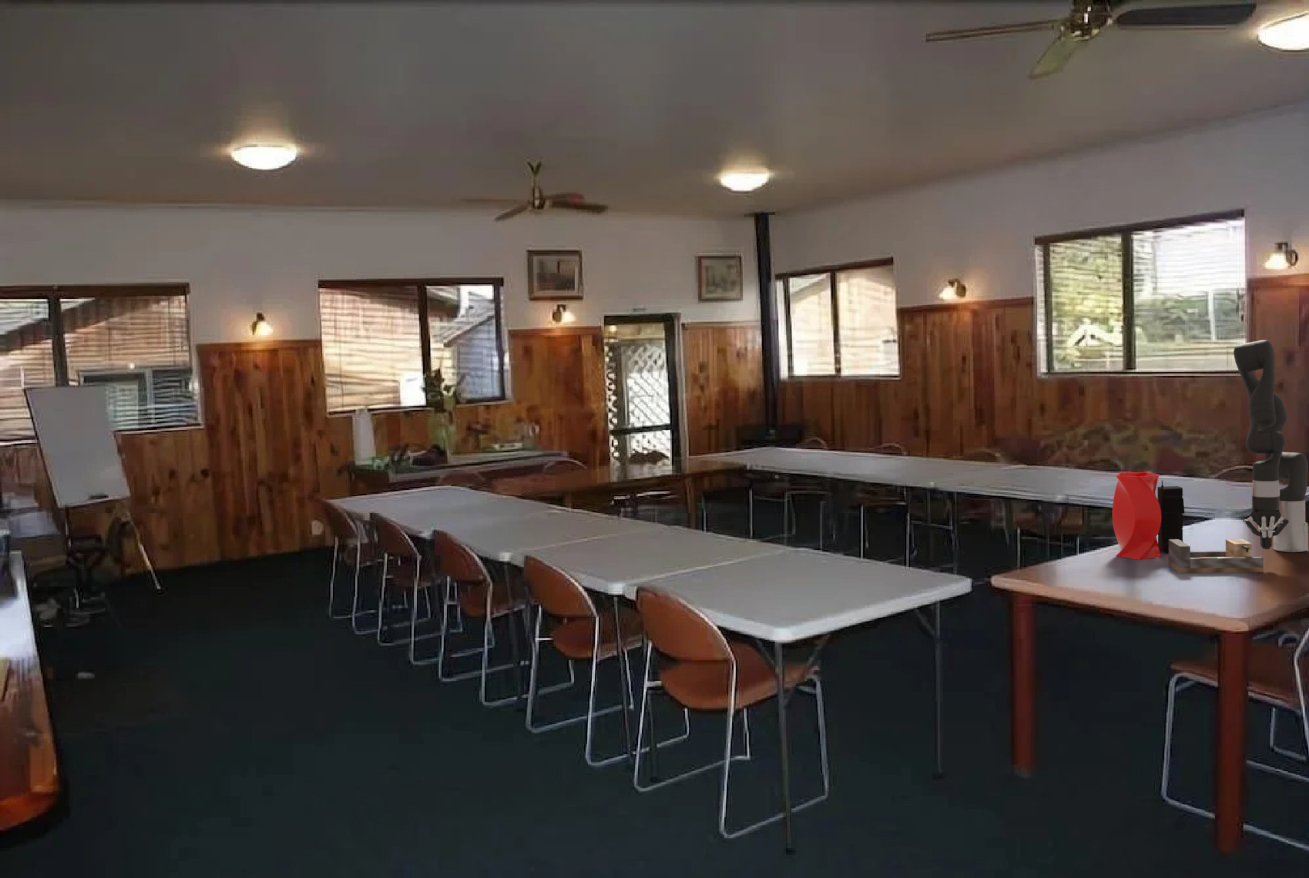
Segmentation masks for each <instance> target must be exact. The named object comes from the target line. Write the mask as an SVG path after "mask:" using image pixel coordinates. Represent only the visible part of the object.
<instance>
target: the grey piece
mask: <svg viewBox="0 0 1309 878" xmlns="http://www.w3.org/2000/svg"><path fill="white" fill-rule="evenodd" d="M1168 566H1169V567H1171V568H1172V569H1174V570H1175V571H1176V572H1178V573H1180V574H1199V573H1200V574H1201V573H1204V574H1207V573H1208V574H1209V573H1210V574H1211V573H1213V574H1214V573H1218V574H1219V573H1222V574H1223V573H1264V557H1263V556H1252V557H1226V550H1191V545H1188V544H1187V543H1186V542H1184V541H1183V542H1182V541H1181V540H1179V539H1169V553H1168Z"/></svg>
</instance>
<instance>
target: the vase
mask: <svg viewBox="0 0 1309 878" xmlns="http://www.w3.org/2000/svg"><path fill="white" fill-rule="evenodd" d="M1115 477H1116V478H1117V482H1116V485H1115V490H1114V495H1113V501H1112V509H1111V510H1112V512H1111V514H1112V526H1113V531H1114V534H1115V537H1116V541H1117V543H1118V545H1119V548H1120V551H1119V552H1118V553H1117V554H1116V555H1115V557H1119V558H1127V559H1133V560H1146V559H1147V560H1149V559H1152V558H1153V559H1154V558H1155V559H1156V558H1161V557H1162V555H1161V552H1160V551H1159V547H1158V532H1159V529H1160V524H1161V509H1160V505H1159V502H1158V496H1157V495H1156V491H1157V487H1158V486H1157V485H1158V480H1159V477H1160V474H1157V473H1153V472H1151V471H1134V472H1133V471H1125V472H1124V471H1123V472H1122V471H1121V472H1119V473H1117V474H1115Z"/></svg>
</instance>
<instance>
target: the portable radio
mask: <svg viewBox="0 0 1309 878" xmlns="http://www.w3.org/2000/svg"><path fill="white" fill-rule="evenodd" d="M1183 491H1184V490H1183V487H1181V486H1179V485H1171V486H1170V485H1169V486H1167V485H1166V486H1165V485H1164V480H1161V486H1157V499H1158V502H1159V505H1160V509H1161V524H1160V529H1159V532H1158V534H1157V542H1158V547H1159V552H1160V553H1163V554H1169V539H1179V540H1181V541H1182V542H1184V534H1183V533H1184V532H1183V531H1184V527H1183V525H1184V524H1183V520H1184V518H1183V517H1184V514H1186V513H1185V504H1184V497H1183V496H1184V493H1183Z"/></svg>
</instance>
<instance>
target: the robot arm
mask: <svg viewBox="0 0 1309 878" xmlns="http://www.w3.org/2000/svg"><path fill="white" fill-rule="evenodd" d="M1275 354H1276V353H1275V350H1274V347H1273V344H1272V343H1271V341H1270V340H1268V339H1261V340H1257V341H1256V340H1255V341H1251V342H1246V343H1241V344H1238V345H1236V346H1235V347H1234V348H1233V358H1234V361H1235V364H1236V368H1237V370H1238V372H1239V375H1240V378H1241V380H1242V382H1243V384H1244V388H1245V391H1246V394H1247V397H1248V400H1249V401H1248V411H1249V413H1248V414H1249V429H1248V431H1247V432H1248V433H1247V437H1246V440H1245V447H1246V449H1247V451H1248V452H1250V453H1251V454H1258V455H1259V454H1261V455H1263V454H1264V455H1263V456H1264V459H1262V460H1258V461H1255V462H1253V464H1252V484H1251V513H1250V515H1249V517H1248V518H1246V519H1245V518H1244V519H1243V520H1242V523H1243V524H1244V525H1245V526H1246V527H1247V528H1248V529H1249V530H1250V532H1251V533H1252V534H1253V535H1255V536H1257V537H1259V540H1260V543H1259V544H1260V545H1259V546H1260V548H1261V549H1263V550H1270V549H1271V548H1272V546H1273V550H1275V551H1278V552H1286V553H1301V552H1308V551H1309V545H1308V544H1309V542H1308V541H1309V538H1308V537H1309V533H1308V532H1309V531H1308V529H1309V523H1308V522H1306V494H1307V488H1308V475H1309V474H1308V471H1309V465H1308V464H1309V463H1308V459H1307V457H1306V455H1305V454H1304V453H1301V452H1293V451H1292V452H1289V451H1284V448H1285V446H1286V437H1285V435H1284V434H1283V430H1284V428H1285V426H1286V424H1287V421H1288V416H1287V415H1288V414H1287V411H1286V408H1285V406H1284V402H1283V400H1282V398H1281V397H1280V396H1279V394H1277V393H1276V392H1275V378H1276V375H1275V374H1276V355H1275ZM1259 370H1262V374H1261V377H1260V379H1258V378H1257V376H1256V375H1255V372H1254V371H1259ZM1279 480H1286V481H1287V480H1288V484H1287V486H1286V487H1283V488H1280V482H1279ZM1254 523H1255V524H1256V525H1257V528H1258V529H1257V528H1256V527H1255V526H1254ZM1272 541H1273V542H1272Z"/></svg>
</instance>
